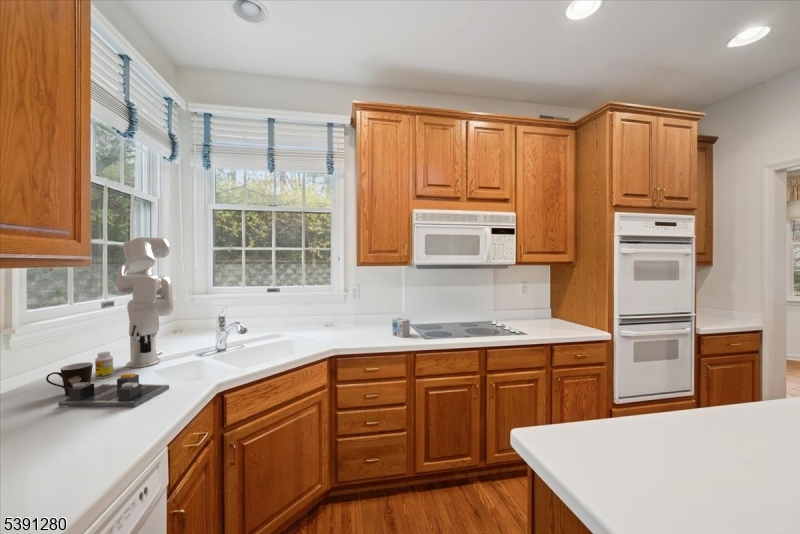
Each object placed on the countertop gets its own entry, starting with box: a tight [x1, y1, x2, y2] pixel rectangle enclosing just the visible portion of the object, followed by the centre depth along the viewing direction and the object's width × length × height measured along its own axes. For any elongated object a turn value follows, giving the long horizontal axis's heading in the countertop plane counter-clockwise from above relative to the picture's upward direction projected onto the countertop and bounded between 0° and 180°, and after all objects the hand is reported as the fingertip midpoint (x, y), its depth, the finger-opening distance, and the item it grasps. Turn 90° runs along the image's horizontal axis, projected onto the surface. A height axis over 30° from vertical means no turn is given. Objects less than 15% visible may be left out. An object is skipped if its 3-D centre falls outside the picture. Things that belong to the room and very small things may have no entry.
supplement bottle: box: [94, 351, 114, 380], centre depth 138 cm, size 6×6×10 cm
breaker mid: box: [116, 372, 140, 390], centre depth 122 cm, size 5×4×5 cm
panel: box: [57, 382, 170, 408], centre depth 118 cm, size 16×26×7 cm, turn 89°
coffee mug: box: [45, 361, 94, 397], centre depth 121 cm, size 12×9×10 cm
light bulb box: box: [391, 317, 411, 339], centre depth 215 cm, size 11×7×11 cm, turn 41°
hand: (145, 352), depth 130 cm, fingers closed
